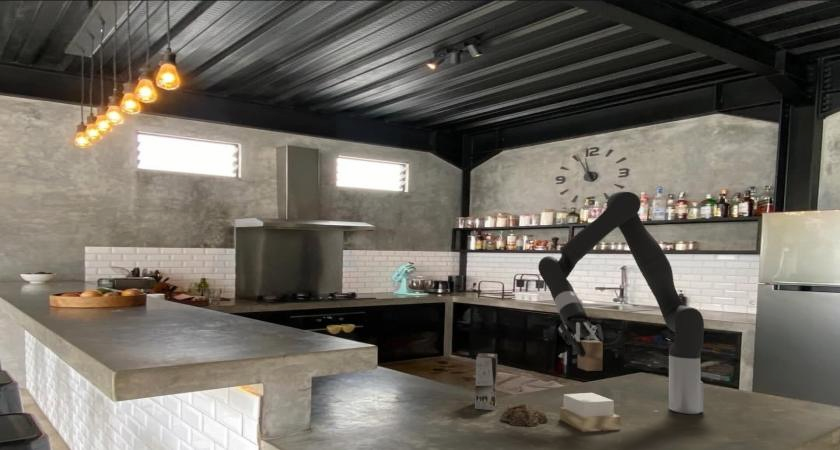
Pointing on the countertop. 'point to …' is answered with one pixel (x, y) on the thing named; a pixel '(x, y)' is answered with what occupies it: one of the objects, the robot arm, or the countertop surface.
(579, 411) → the tower top
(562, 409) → the tower base
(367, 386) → the countertop surface
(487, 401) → the coffee box
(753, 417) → the countertop surface
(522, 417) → the bread roll
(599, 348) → the walnut block
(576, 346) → the robot arm
